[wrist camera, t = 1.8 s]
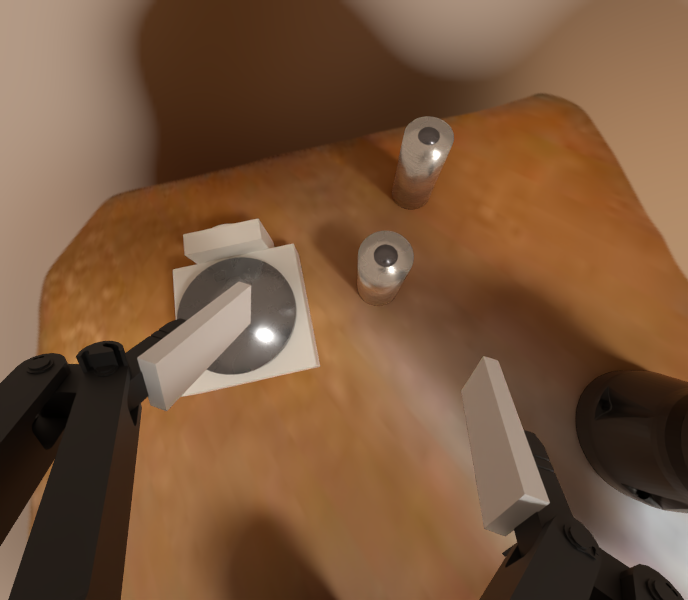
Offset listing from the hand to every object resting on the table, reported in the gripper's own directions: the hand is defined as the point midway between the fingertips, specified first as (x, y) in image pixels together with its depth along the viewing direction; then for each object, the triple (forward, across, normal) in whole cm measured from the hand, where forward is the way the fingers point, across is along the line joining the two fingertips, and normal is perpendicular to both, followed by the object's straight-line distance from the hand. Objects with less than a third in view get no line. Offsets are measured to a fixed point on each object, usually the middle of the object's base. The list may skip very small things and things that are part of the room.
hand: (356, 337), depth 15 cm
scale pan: (+14, -16, -13) cm, 25 cm away
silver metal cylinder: (+24, 0, -9) cm, 26 cm away
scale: (+18, -17, -15) cm, 29 cm away
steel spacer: (+36, +1, +3) cm, 36 cm away
